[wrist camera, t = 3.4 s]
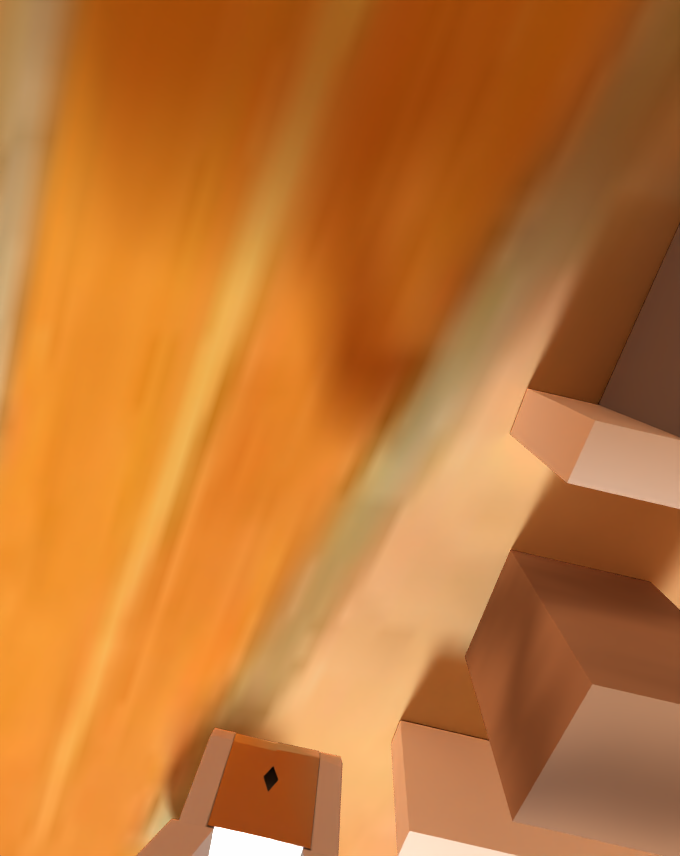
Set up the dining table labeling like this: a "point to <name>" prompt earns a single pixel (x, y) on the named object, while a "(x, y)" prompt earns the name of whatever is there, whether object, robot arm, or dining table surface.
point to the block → (583, 701)
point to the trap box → (584, 466)
